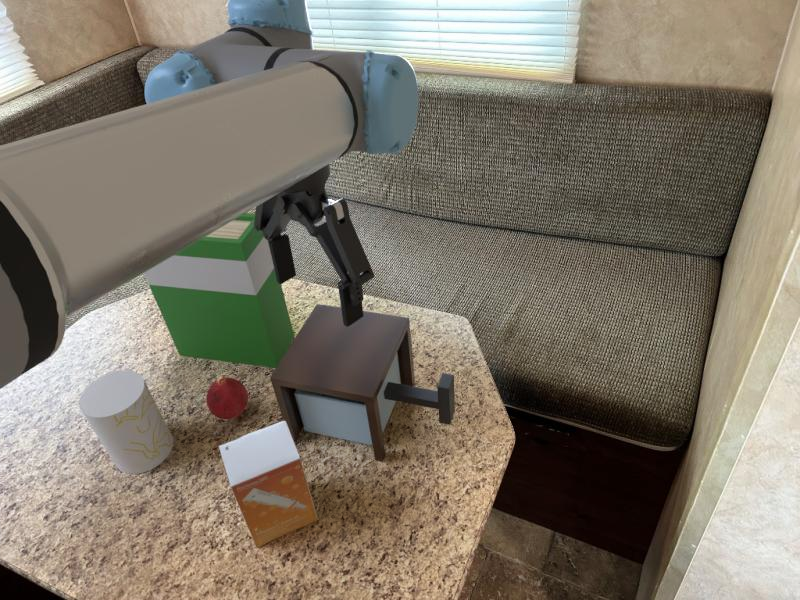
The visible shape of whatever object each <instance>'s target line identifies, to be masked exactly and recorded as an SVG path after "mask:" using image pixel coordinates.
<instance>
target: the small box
mask: <svg viewBox="0 0 800 600" xmlns="http://www.w3.org/2000/svg"><path fill="white" fill-rule="evenodd" d="M218 450H219V452H220V456H221V459H222V462H223V465H224V469H225V472H226V476H227V479H228V482H229V486H230V489H231V491H232V494H233V497H234V499H235V501H236V504H237V506H238V508H239V511H240V513H241V515H242V518H243V520H244V521H245V522H244V523H245V525H246V527H247V529H248V532H249V533H250V536H251V539H252V541H253V543H254V545H255V547H256V548H260V547H262V546H264V545H265V544H268V543H269V542H272V541H274V540H277V539H278V538H280V537H283V536H286V535H287V534H290V533H291V532H294V531H296V530H298V529H301V528H303V527H306V526H308V525H310V524H312V523H315V522H317V521H319V520H318V519H319V518H318V515H317V511H316V507H315V503H314V501H313V500H314V499H313V497H312V493H311V490H310V486H309V483H308V480H307V477H306V473H305V470H304V465H303V462H302V460H301V457H300V454H299V451H298V449H297V446H296V444H295V442H294V441H293V438H292V436H291V433H290V431H289V428H288V425H287V423H286V421H283V420H282V421H279V422H277V423H273V424H271V425H268V426H266V427H263V428H261V429H258V430H254V431H251V432H250V433H249V432H248V433H247V434H245V435H243V436H240V437H239V438H236V439H233V440H230V441H229V442H226V443H224V444H221V445H219V446H218Z"/></svg>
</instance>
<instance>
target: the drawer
mask: <svg viewBox="0 0 800 600" xmlns="http://www.w3.org/2000/svg"><path fill="white" fill-rule="evenodd" d="M294 394H295V398H296V402H297V405H298V409H299V412H300V416H301V419H302V423H303V426H304V428H303V430H304V432H307V433H313V434H317V435H323V436H326V437H331V438H335V439H341V440H344V441H345V440H346V441H350V442H354V443H358V444H364V445H369V446H372V440H371V435H370V429H369V423H368V417H367V412H366V406H365V402H360V401H355V400H350V399H345V398H340V397H335V396H330V395H325V394H320V393H315V392H309V391H304V390H299V389H296V391H295V393H294ZM455 399H456V397H455V375H454V374H451V373H446V372H441V375H440V378H439V380H438V383H437V387H436V390H435V389H429V388H426V387H425V388H424V387H419V386H414V385H413V386H408V385H403V384H401V379H400V371H399V362H398V353H396V356H395V358H394V360H393V362H392V365H391V367H390V369H389V371H388V374H387V376H386V378H385V380H384V382H383V385H382V387H381V389H380V391H379V394H378V396H377V400H378V407H379V413H380V420H381V426H382V433H383V434H384V432H385V429H386V427H387V424H388V422H389V420H390V417H391V415H392V412H393V410H394V407H395V405H396V403H397V402H399V403H404V404H407V405H415V406H420V407H424V408H431V409H435V410H438V422H439V424H444V425H450V426H451V424H452V421H453V418H454V416H455V412H456V401H455Z"/></svg>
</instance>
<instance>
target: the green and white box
mask: <svg viewBox="0 0 800 600" xmlns="http://www.w3.org/2000/svg"><path fill="white" fill-rule="evenodd" d="M254 219H255V213H251V212H250V213H248V212H246V213H245V214H243V215H241V216H240V217H238V218H236V219H234V220H233V221H231V222H229V223H228V224H226V225H224V226H223V227H221V228H219V229H217V230H216V231H214V232H212V233H211V234H209V235H207V236H206V237H204V238H202V239H201V240H199V241H197V242H195V243H194V244H192V245H190V246H189V247H187V248H185V249H184V250H182V251H180V252H178V253H177V254H175V255H173V256H172V257H170V258H168V259H167V260H165V261H163V262H161V263H160V264H158V265H156V266H155V267H153V268H151V269H150V270H148V271H146V272H144V273H143V274H144V277H145V279H146V281H147V284H148V286H149V289H150V291H151V293H152V296H153V298H154V301H155V302H156V305H157V307H158V308H159V312H160V314H161V316H162V318H163V320H164V323H165V325H166V327H167V330H168V332H169V334H170V337H171V339H172V341H173V343H174V344H173V345H174V346H175V348H176V350H177V353H178V356H180V357H186V358H193V359H202V360H210V361H216V362H217V361H219V362H226V363H233V364H234V363H235V364H242V365H250V366H258V367H264V368H272V369H273V368H274V369H276V367H277V366H278V364H279V363H280V361H281V359H282V358H283V356H284V355H285V353H286V352H287V350H288V349H289V347H290V345H291V344H292V342H293V341H294V339H295V334H294V330H293V326H292V321H291V318H290V314H289V310H288V305H287V301H286V299H285V294H284V290H283V287H282V284H279V283H278V282H277V278H276V274H275V269H274V265H273V261H272V256H271V253H270V247H269V244H268V240H266V239H265V238H264V236H263V232H262V231H261V230H260V231H257V230H256V229H255V227H254Z"/></svg>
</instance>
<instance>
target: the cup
mask: <svg viewBox="0 0 800 600" xmlns="http://www.w3.org/2000/svg"><path fill="white" fill-rule="evenodd" d="M78 406H79V410H80V411H81V413H82V414H83V416H84V418H85V419H86V420H87V422H88V424H89V426H90V427H91V429H92V430H93V432H94V433H95V435H96V437H97V438H98V440H99V442H100V443H101V445H102V446H103V448H104V449H105V451H106V453H107V454H108V455H109V457H110V459H111V461H112V462H113V463H114V465H115V467H116V468H117V469H118V470H119V471H120V472H122V473H124V474H127V475H138V474H143V473H146V472H150V471H151V470H153V469H155V468H157V467H158V466H159V465H161V464H162V463H163V462H164V461H165V460H166V459H167V458H168V457H169V455H170V454H171V452H172V450H173V446H174V437H173V434H172V433H171V431H170V428H169V426H168V424H167V423H166V421H165V418H164V417H163V414H162V413H161V410H160V408H159V407H158V404H157V403H156V401H155V399H154V396H153V395H152V393H151V391H150V389H149V387H148V385H147V383H146V381H145V378H144V377H143V376H142V374H141V373H140V372H137V371H135V370H131V369H119V370H114V371H110V372H108V373H105V374H103V375H101V376H99V377H98V378H96V379H95V380H93V381H92V382H91V383H90V384H88V385H87V386H86V388H84V390H83V391H82V393H81V395H80V397H79V401H78Z"/></svg>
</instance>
